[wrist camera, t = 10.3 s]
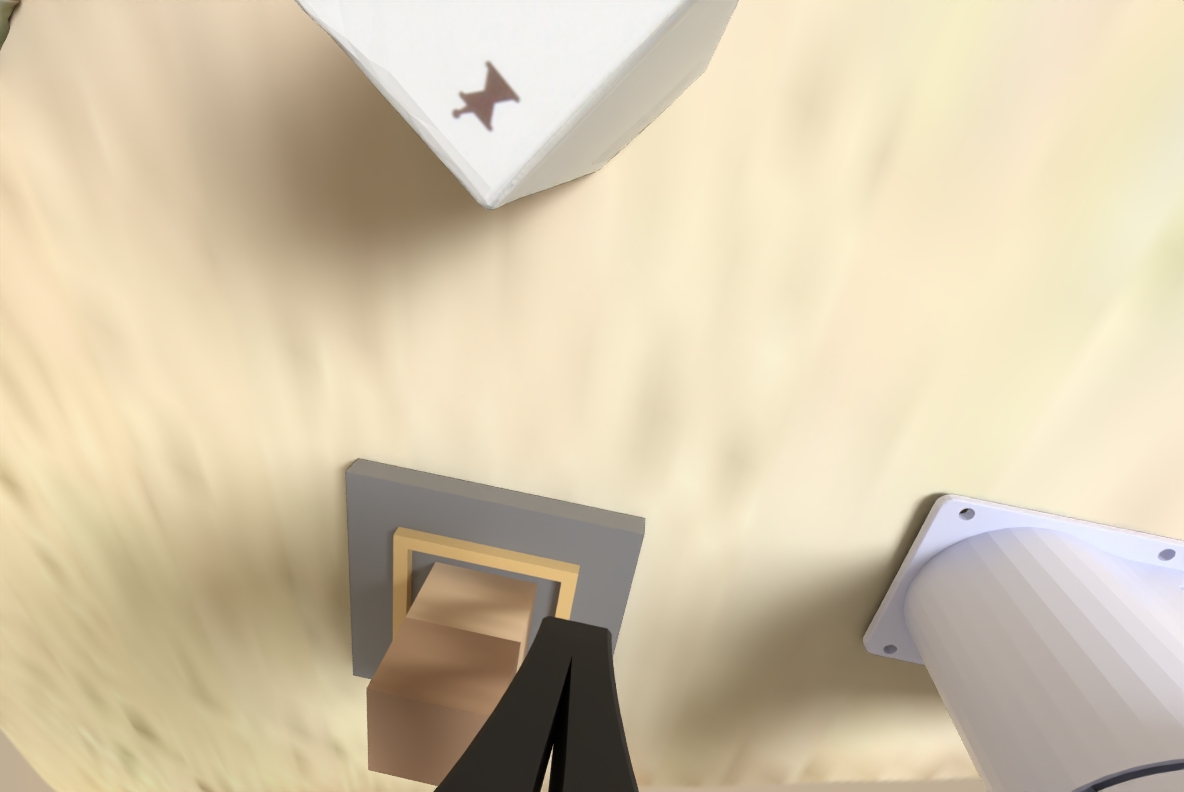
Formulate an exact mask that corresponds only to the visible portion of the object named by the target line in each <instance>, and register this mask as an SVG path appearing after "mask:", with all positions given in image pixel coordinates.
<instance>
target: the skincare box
mask: <svg viewBox="0 0 1184 792" xmlns="http://www.w3.org/2000/svg"><path fill="white" fill-rule="evenodd" d="M295 1H296V2H297V3H298V5H299V6H300V7H301V8H302V9H303V10H304V11H305V12H306V13H307V14H308V15H309V16H310V17H311V18H312V19H313V20H314V21H315V22H316V23H317V24H318V25H319V26H320V27H322V28H323V29H324V30H325V31H326V32H327V33H328V34H329V35H330V36H331V37H332V39H333V40H334V41H335V42H336V43H337V44H338V45H339V46H340V47H341V48H342V50H343V51H344V52H345V53H346V54H347V55H348V56H349V57H350V58H351V59H352V60H353V62H354V63H355V64H356V65H357V66H358V67H359V68H360V69H361V71H362V72H363V73H364V74H365V75H366V76H367V77H368V79H369V80H370V81H371V82H372V83H373V84H374V86H375V87H376V88H377V89H378V90H379V91H380V92H381V94H382V95H383V96H384V97H385V98H386V99H387V100H388V102H389V103H390V104H391V105H392V106H393V107H394V108H395V110H396V111H397V112H398V113H399V114H400V115H401V116H402V117H403V119H404V120H405V121H406V122H407V123H408V124H409V125H410V126H411V127H412V129H413V130H414V131H415V132H416V133H417V134H418V135H419V136H420V138H421V139H422V140H423V141H424V142H425V143H426V144H427V145H428V146H429V148H430V149H431V150H432V151H433V152H434V153H435V154H436V156H437V157H438V158H439V159H440V160H441V161H442V162H443V164H444V165H445V166H446V167H447V168H448V169H449V170H450V172H451V173H452V174H453V175H454V176H455V177H456V178H457V180H458V181H459V182H460V183H461V184H462V185H463V186H464V188H465V189H466V190H467V191H468V192H469V193H470V194H471V195H472V197H473V198H474V199H475V200H476V201H477V202H478V203H479V204H480V205H481V206H483V207H484V208H486V209H489V210H491V209H496V208H498V207H501V206H503V205H505V204H508V203H510V202H512V201H515V200H517V199H519V198H521V197H525V196H529V195H531V194H534V193H537V192H540V191H543V190H546V189H549V188H551V187H554V186H556V185H559V184H562V183H566V182H568V181H571V180H574V179H576V178H579V177H581V176H584V175H587V174H590V173H593V172H595V171H598V170H600V169H601V168H602V167H603V166H604V165H605V164H606V163H608V162H609V161H610V160H611V159H612V158H613V157H614V156H615V155H616V154H617V153H619V152H620V151H621V150H622V149H623V148H624V147H625V146H626V145H627V144H628V143H629V142H631V141H632V140H633V139H634V138H635V137H636V136H637V135H638V134H639V133H640V132H642V131H643V130H644V129H645V128H646V127H647V126H648V125H649V124H650V123H651V122H652V121H654V120H655V119H656V118H657V117H658V116H659V115H660V114H661V113H662V112H663V111H664V110H665V109H666V108H667V107H668V106H669V105H670V104H671V103H672V102H673V101H674V100H675V99H677V98H678V97H679V96H680V95H681V94H682V93H683V92H684V91H685V90H686V89H687V88H688V87H689V86H690V85H691V84H692V83H693V82H694V81H695V80H696V79H697V78H699V77H700V76H701V75H702V74H703V73H704V72H705V70H706V69H707V67H708V64H709V62H710V60H711V59H712V56H713V54H714V52H715V50H716V48H717V45H718V43H719V41H720V39H721V37H722V35H723V33H724V31H725V29H726V27H727V25H728V22H729V21H730V18H731V16H732V14H733V12H734V10H735V8H736V6H737V3H738V1H739V0H295Z"/></svg>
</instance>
